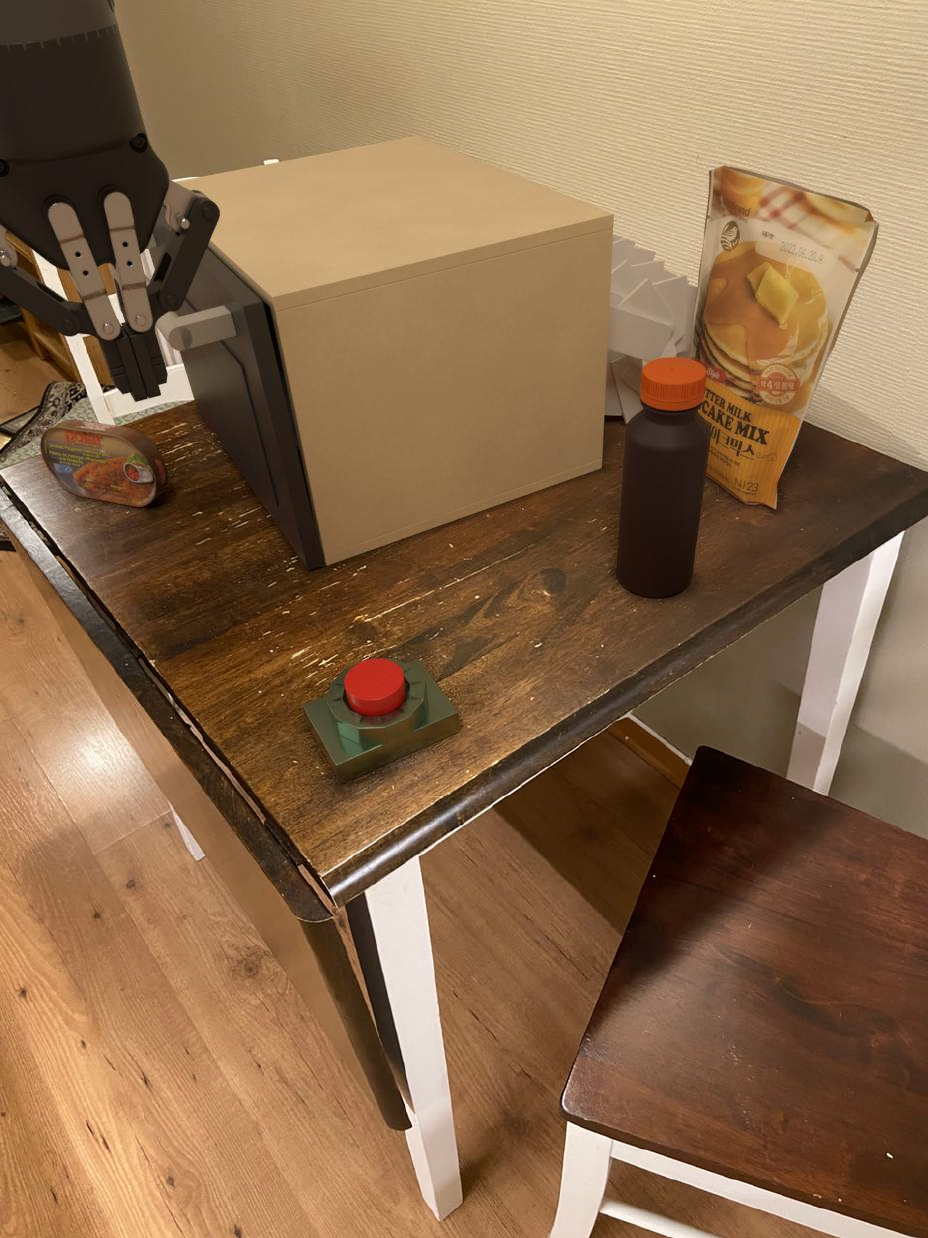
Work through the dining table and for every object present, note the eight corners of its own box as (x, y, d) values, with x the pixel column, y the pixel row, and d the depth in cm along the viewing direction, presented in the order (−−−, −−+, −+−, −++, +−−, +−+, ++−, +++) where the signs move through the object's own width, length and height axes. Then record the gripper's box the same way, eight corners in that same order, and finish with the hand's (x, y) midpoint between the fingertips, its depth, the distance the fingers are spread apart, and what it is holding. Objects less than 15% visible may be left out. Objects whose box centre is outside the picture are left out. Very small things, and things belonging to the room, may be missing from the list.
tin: (54, 491, 98) (25, 423, 93) (73, 477, 100) (46, 410, 95) (164, 514, 93) (140, 443, 88) (181, 498, 96) (159, 428, 90)
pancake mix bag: (704, 424, 101) (739, 155, 83) (820, 505, 87) (892, 205, 69) (654, 439, 99) (679, 167, 81) (764, 524, 85) (824, 220, 67)
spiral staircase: (593, 374, 121) (687, 450, 102) (480, 342, 113) (561, 418, 94) (650, 239, 113) (765, 293, 94) (533, 194, 105) (633, 243, 86)
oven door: (253, 591, 82) (172, 325, 65) (154, 421, 110) (78, 202, 93) (324, 565, 84) (263, 300, 68) (209, 405, 112) (145, 188, 95)
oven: (326, 566, 85) (271, 296, 68) (211, 405, 112) (152, 185, 95) (602, 468, 95) (614, 213, 78) (435, 343, 123) (417, 135, 106)
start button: (361, 725, 64) (358, 708, 63) (338, 688, 67) (335, 671, 66) (416, 702, 65) (413, 685, 64) (391, 667, 68) (388, 650, 67)
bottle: (600, 573, 81) (610, 369, 68) (652, 545, 84) (672, 343, 71) (654, 609, 77) (676, 399, 64) (707, 578, 80) (739, 370, 67)
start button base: (341, 786, 64) (332, 750, 62) (305, 723, 69) (296, 687, 67) (461, 732, 67) (458, 696, 65) (419, 675, 72) (415, 639, 70)
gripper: (157, -2, 43) (238, 342, 54) (-144, 34, 38) (13, 400, 50) (198, 10, 38) (279, 387, 49) (-144, 53, 33) (31, 456, 45)
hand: (144, 393), depth 49 cm, fingers closed
